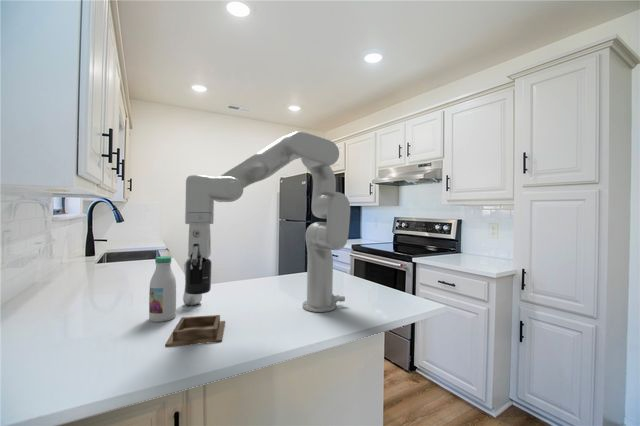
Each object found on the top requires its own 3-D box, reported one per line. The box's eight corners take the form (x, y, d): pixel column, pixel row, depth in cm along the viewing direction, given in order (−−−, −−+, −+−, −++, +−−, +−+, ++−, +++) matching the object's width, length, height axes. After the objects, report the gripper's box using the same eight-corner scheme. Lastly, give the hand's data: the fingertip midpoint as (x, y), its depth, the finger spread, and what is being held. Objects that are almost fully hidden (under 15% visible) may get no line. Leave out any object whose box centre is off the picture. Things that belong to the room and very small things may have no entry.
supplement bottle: (201, 295, 81) (202, 252, 81) (179, 293, 82) (180, 250, 82) (215, 289, 88) (216, 248, 88) (195, 287, 89) (195, 247, 89)
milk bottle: (171, 312, 102) (171, 254, 102) (179, 318, 97) (180, 257, 96) (146, 317, 97) (146, 256, 97) (153, 324, 91) (153, 259, 91)
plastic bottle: (178, 305, 109) (179, 251, 109) (193, 300, 115) (193, 249, 115) (192, 308, 107) (192, 252, 106) (206, 303, 113) (206, 250, 113)
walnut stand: (225, 322, 94) (225, 312, 94) (221, 341, 80) (221, 330, 80) (177, 326, 90) (177, 316, 90) (165, 346, 77) (165, 334, 77)
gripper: (209, 219, 77) (208, 288, 78) (216, 218, 94) (215, 274, 94) (178, 219, 76) (177, 289, 76) (190, 217, 92) (189, 274, 93)
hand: (198, 280), depth 85 cm, fingers closed on supplement bottle, 6 cm apart
